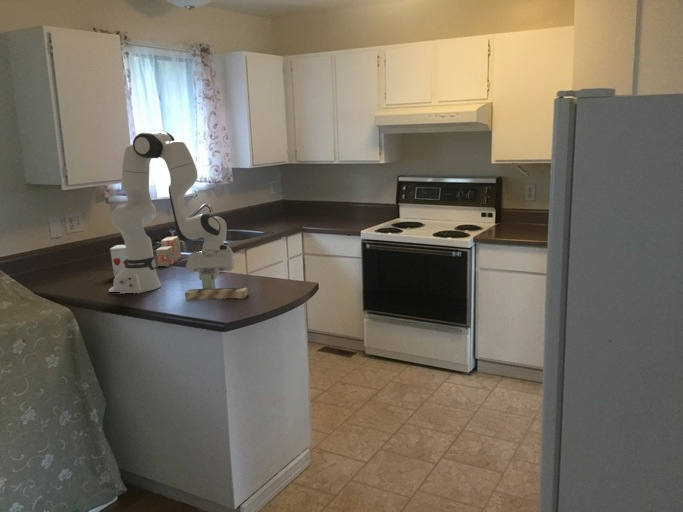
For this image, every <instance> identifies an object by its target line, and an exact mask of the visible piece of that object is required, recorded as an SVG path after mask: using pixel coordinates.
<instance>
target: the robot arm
mask: <svg viewBox="0 0 683 512" xmlns="http://www.w3.org/2000/svg"><path fill="white" fill-rule="evenodd" d="M159 158H161V159H162V160H164V162H165V163H166V164H165V165H166V167H167V170H168V172H169V177H170V183H169V187H168V195H169V200H170V201H169V202H170V204H171V210H172V215H173V218H174V230H175V234H176V236H177V237H178V238H179V241H180V240H181V241H182V242H183V243H185V244H186V243H187V244H188V243H192V242H194V241H195V240H197V239H198V240H199V239H202V238H203V239H204V241H203V245H202V250H201V251H193V252H191V253H190V254H189V255H188V258H187V261H186V264H185V268H186V270H187V271H188V272H189V273H198V275H199V276H198V280H199V281H202V279H201V272H203V271H208V270H213V271H216V272H213V273H214V274H212V277H211V278H212V280H214V281H215V280H217V277H218V276H219V274H220V273H221V272H228V271H229V272H231V271H233V269H234V268H235V266H234V265H235V259H234V251H233V250H232V248H231V247H230V246H228V245H225V241H226V240H227V239H226V238H227V229H228V228H227V222H226V220H225V219H224V218H222V217H220V216H218V215H217V216H213V215H212V214H211V213H208V212H203V213H201V214H196V215H194V216H191V217H188V214H187V209H186V204H185V195H186V194H187V192H188V191H189V190H190V189H191V188H192V187H193V186H194V184H195V183H196V182H197V179H198V170H197V167H196V164H195V161H194V158H193V156H192V154H191V152H190V150H189V149H188V147H187V145H186V143H185V142H184V141H181V140H175V138H174V136H173V135H172V134H171V133H169V132H168V131H165V130H150V131H143V132H140V133H138V134H137V135H136V136H135V137H134V138H133V141H132V144H130V145H128V146H126V148H125V150H124V154H123V158H122V167H121V168H122V169H121V171H122V173H121V188H122V190H123V191H124V192H125V195H126V199H127V203H123V204H120V205H118V206H117V207H115V208H114V209H113V210H112V212H111V213H110V221H111V223H112V225H113V227H115V229H118V231H119V232H120V234H121V237H122V239H123V242H124V245H125V247H126V253H127V259H126V260H125V261H123V264H125V268H124V269H123V270H121V271H120V272H119V273H118V274H117V275H116V276H115V278H114V277H113V283H112V285H113V286H111V287H110V288H109V289H108V293H109V292H120V293H119V294H125V293H134V294H135V293H137V294H140V293H145V292H149V291H153V290H157V289H160V288H161V287H162V283H161V282H160V279H159V276H158V273H157V269H156V268H157V267H156V266H157V265H156V259H155V255H154V252H153V251H154V250H153V245H152V244H153V243H152V239H151V237H150V236H148V235H147V233H146V231H145V228H144V225H147V224H149V223H151V221H152V220H153V219H155V218H156V215H157V208H156V206H155V204H154V203H153V202H152V198H151V194H150V193H151V192H150V166H151V165H150V164H151V160H152V159H159ZM134 294H133V295H134ZM135 295H136V294H135Z"/></svg>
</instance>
